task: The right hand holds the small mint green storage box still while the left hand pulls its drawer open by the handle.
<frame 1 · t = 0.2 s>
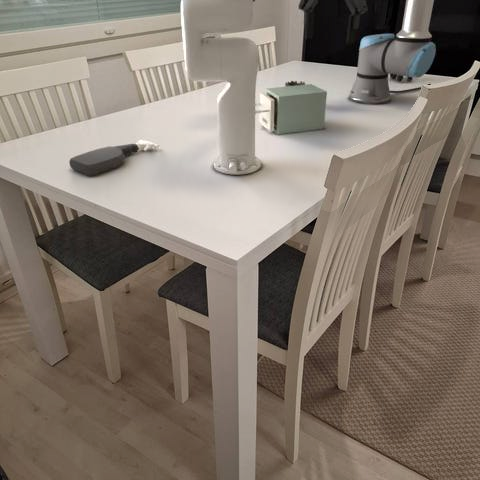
left hand: (232, 19, 141), 31 cm above the table, tool pointing down, fingers open, 9 cm apart
right hand: (328, 40, 123), 28 cm above the table, tool pointing down, fingers open, 13 cm apart
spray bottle: (117, 159, 125), on the table
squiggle: (399, 80, 200), on the table
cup: (294, 105, 169), on the table
drawer: (278, 110, 143), point 6 cm above the table, slide at 1.2 cm
mint green storage box: (294, 126, 147), on the table
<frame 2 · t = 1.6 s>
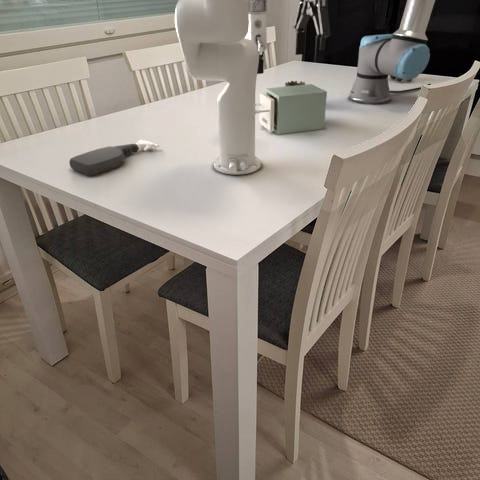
left hand: (253, 70, 136), 18 cm above the table, tool pointing down, fingers open, 9 cm apart
right hand: (308, 58, 137), 21 cm above the table, tool pointing down, fingers open, 13 cm apart
nothing on the table moved.
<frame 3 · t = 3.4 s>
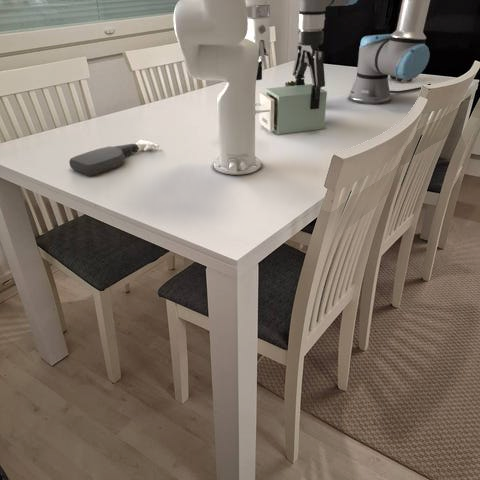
left hand: (256, 79, 135), 16 cm above the table, tool pointing down, fingers closed
right hand: (306, 104, 145), 7 cm above the table, tool pointing down, fingers closed on mint green storage box, 11 cm apart
mint green storage box: (294, 126, 147), on the table, touching right hand
everything else where it was.
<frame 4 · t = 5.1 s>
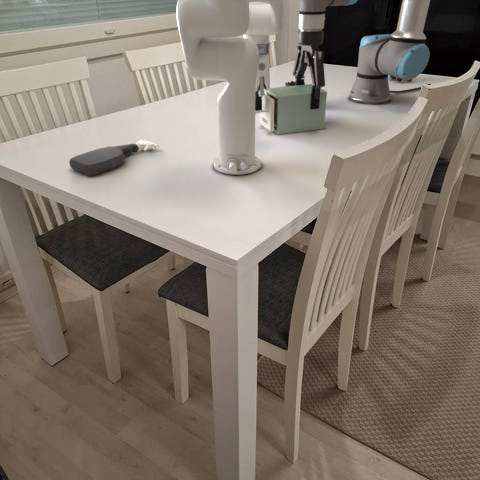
left hand: (256, 111, 141), 6 cm above the table, tool pointing down, fingers closed
right hand: (306, 104, 145), 7 cm above the table, tool pointing down, fingers closed on mint green storage box, 11 cm apart
drawer: (278, 110, 143), point 6 cm above the table, slide at 1.2 cm, touching left hand
mint green storage box: (294, 126, 147), on the table, touching right hand
everything else where it was.
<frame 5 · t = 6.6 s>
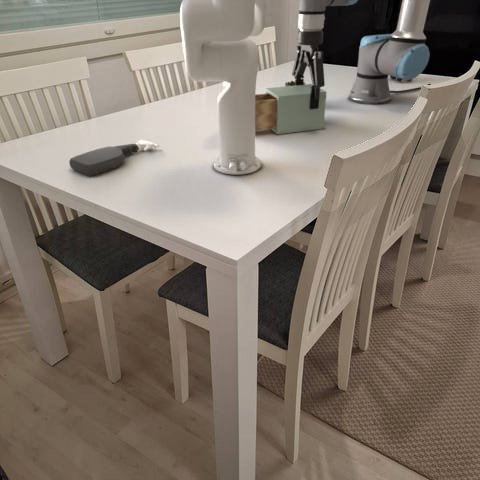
left hand: (234, 114, 139), 6 cm above the table, tool pointing down, fingers closed
right hand: (305, 104, 144), 7 cm above the table, tool pointing down, fingers closed on mint green storage box, 11 cm apart
drawer: (256, 112, 141), point 6 cm above the table, slide at 8.4 cm, touching left hand
mint green storage box: (293, 126, 147), on the table, touching right hand
everything else where it was.
when the right hand's fingers open (7 cm above the table, at t = 8.3 s): mint green storage box stays where it is, on the table.
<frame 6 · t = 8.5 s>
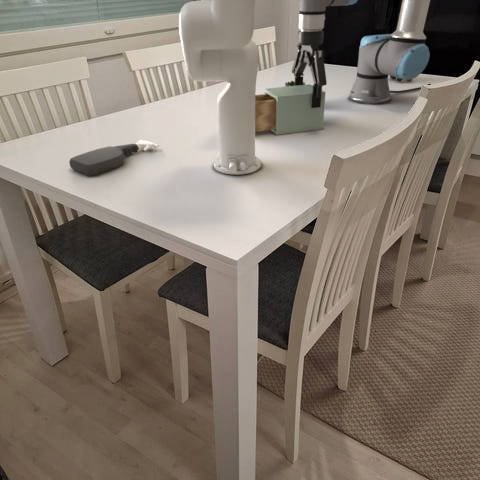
left hand: (235, 83, 134), 16 cm above the table, tool pointing down, fingers closed
right hand: (306, 102, 144), 8 cm above the table, tool pointing down, fingers open, 13 cm apart
drawer: (255, 113, 141), point 6 cm above the table, slide at 8.4 cm
mint green storage box: (292, 126, 147), on the table
everything else where it was.
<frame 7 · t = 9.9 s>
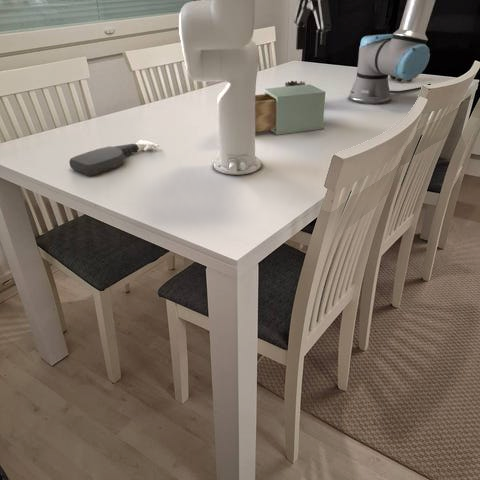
left hand: (235, 83, 134), 16 cm above the table, tool pointing down, fingers closed
right hand: (309, 52, 136), 22 cm above the table, tool pointing down, fingers open, 13 cm apart
nothing on the table moved.
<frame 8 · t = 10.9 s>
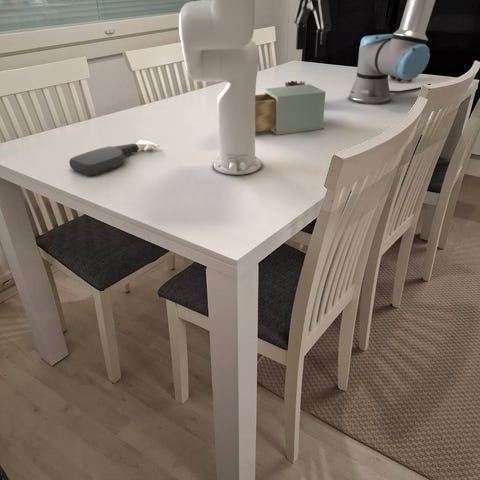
left hand: (235, 83, 134), 16 cm above the table, tool pointing down, fingers closed
right hand: (309, 52, 136), 22 cm above the table, tool pointing down, fingers open, 13 cm apart
nothing on the table moved.
at the end: drawer slide at 8.4 cm; mint green storage box tilted 0°; mint green storage box never tilted more than 3° during the clip; mint green storage box moved 0.6 cm from its start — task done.
